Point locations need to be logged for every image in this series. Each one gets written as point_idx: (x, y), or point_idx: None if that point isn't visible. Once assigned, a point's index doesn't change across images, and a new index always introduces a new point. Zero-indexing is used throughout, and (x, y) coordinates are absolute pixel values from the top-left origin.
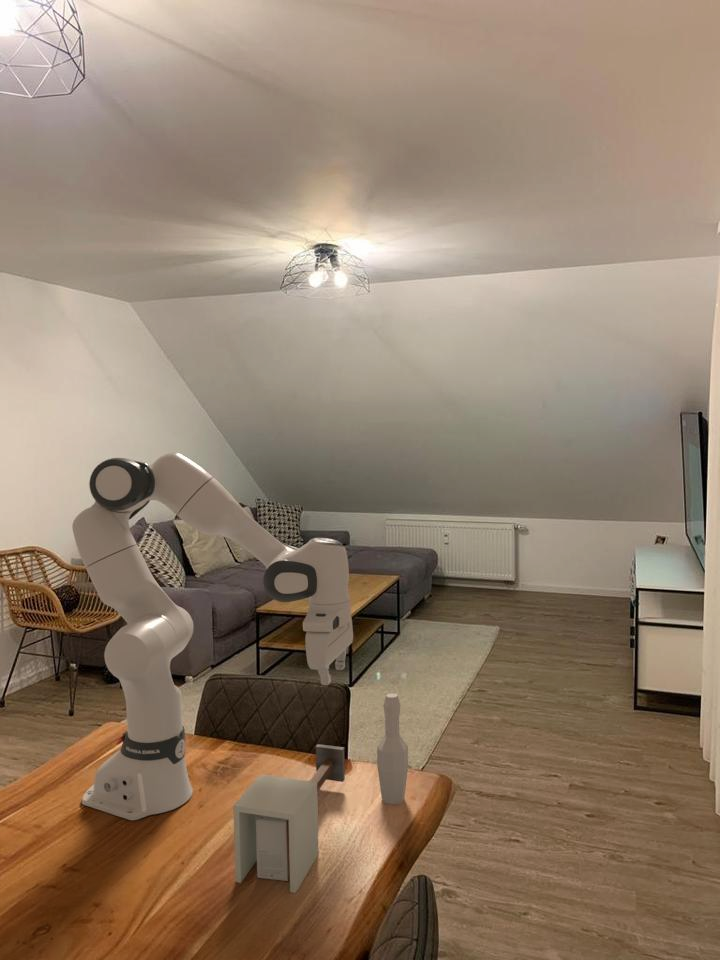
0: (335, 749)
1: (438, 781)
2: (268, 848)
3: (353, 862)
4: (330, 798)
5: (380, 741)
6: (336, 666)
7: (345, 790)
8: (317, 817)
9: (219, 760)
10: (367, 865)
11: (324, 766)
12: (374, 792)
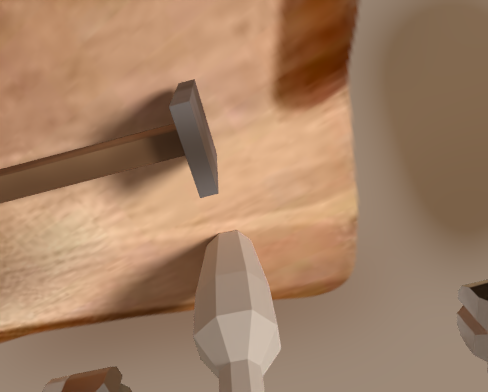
0: (193, 175)
1: (333, 284)
2: None
3: (9, 290)
4: None
5: (220, 334)
6: (485, 307)
7: None
8: None
9: None
10: (21, 309)
11: (144, 152)
12: (235, 209)
